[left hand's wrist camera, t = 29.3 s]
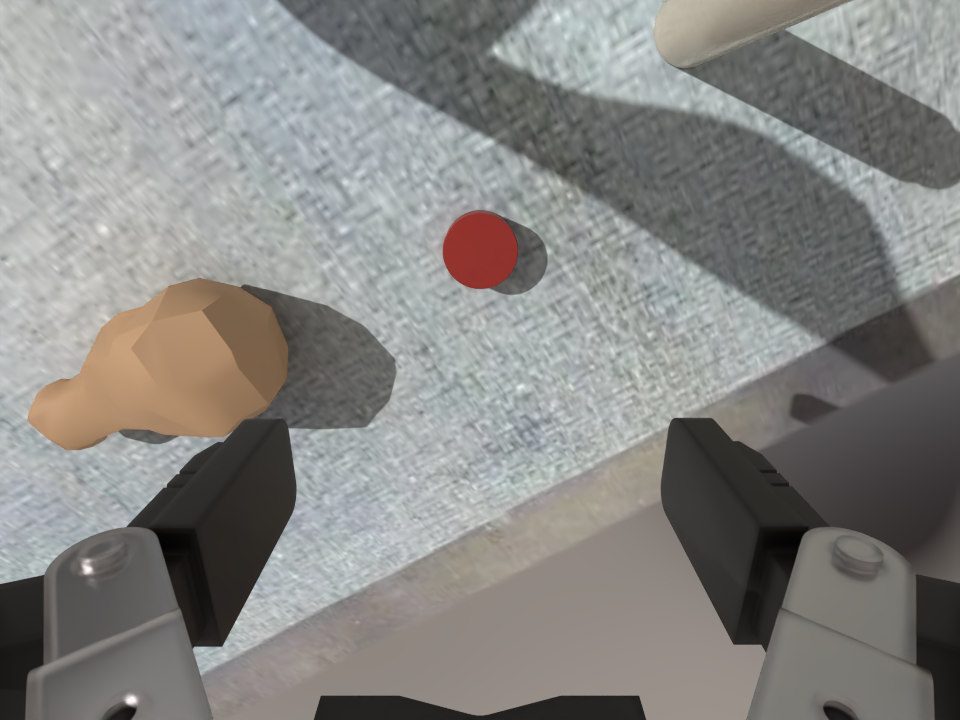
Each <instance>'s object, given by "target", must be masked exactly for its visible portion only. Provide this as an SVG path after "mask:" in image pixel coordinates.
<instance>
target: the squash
mask: <svg viewBox="0 0 960 720" xmlns="http://www.w3.org/2000/svg"><path fill="white" fill-rule="evenodd" d="M288 350H289V348H288V345H287V343H286V340H285V338H284V336H283V333H282V331H281V328H280V326H279V324H278V321H277V319H276V316H275V314H274V312H273V309H272V307H271V306H269V305H267V304H266V303H264V302H262V301H261V300H259V299H258V298H256V297H254V296H253V295H251V294H250V293H248V292H246V291H245V290H243V289H241V288H240V287H237V286H233V285H228V284H224V283H220V282H215V281H211V280H206V279H202V278H198V279H194V280H190V281H186V282H182V283H179V284H175V285H171V286H168V287H167V288H166V289H165V290H163V291H162V292H161V293H159V294H158V295H157V296H156V297H154V298H153V299H152V300H151V301H149V302H148V303H147V304H145V305H144V306H143V307H140V308H136V309H132V310H129V311H125V312H122V313H118V314H117V315H116V316H115V317H113V318H112V319H111V320H110V321H109V322H108V323H106V324H105V325H104V326H103V327H102V328H101V330H100V332H99V334H98V336H97V338H96V340H95V342H94V344H93V346H92V348H91V350H90V352H89V354H88V356H87V358H86V361H85V363H84V365H83V367H82V369H81V372H80V374H78V375H77V376H75V377H74V378H72V379H60V380H58V381H55V382H53V383H51V384H49V385H46V386H45V387H44V388H43V389H42V390H41V391H39V392H38V393H37V395H36V397H35V399H34V402H33V404H32V406H31V408H30V410H29V414H28V420H27V421H28V422H29V423H30V424H31V425H33V426H34V427H35V428H36V429H37V430H38V431H39V432H41V433H42V434H43V435H44V436H45V437H46V438H48V439H49V440H51V441H52V442H54V443H56V444H57V445H59V446H61V447H62V448H64V449H66V450H82V449H85V448H89V447H93V446H95V445H96V444H98V443H100V442H102V441H104V440H105V439H106V438H107V436H108V435H110V434H112V433H115V432H117V431H119V430H122V429H138V430H151V431H154V432H157V433H160V434H163V435H177V436H195V437H224V436H226V435H228V434H229V433H231V432H232V431H234V430H235V429H236V428H237V427H238V425H239V424H240V423H241V422H242V421H243V420H245V419H253V418H254V417H256V416H258V415H259V414H261V413H262V412H264V411H266V410H267V409H268V407H269V405H270V404H271V402H272V401H273V399H274V398H275V396H276V395H277V393H278V392H279V390H280V389H281V387H282V386H283V384H284V383H285V381H286V379H287V369H288Z"/></svg>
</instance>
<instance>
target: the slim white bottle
mask: <svg viewBox="0 0 960 720" xmlns="http://www.w3.org/2000/svg"><path fill="white" fill-rule="evenodd" d="M851 1H853V0H665V2H664V3H663V4H662V6H661V8H660V10H659V12H658V14H657V17H656V20H655V25H654V39H655V44H656V47H657V49H658V51H659V53H660V55H661V56H662V57H663V58H664V60H665V61H667V62H668V63H669V64H671V65H673V66H676V67H679V68H691V67H696V66H698V65H701V64H703V63H705V62H708V61H710V60H713V59H715V58H717V57H720V56H722V55H724V54H727V53H729V52H732V51H734V50H736V49H739V48H741V47H744V46H746V45H748V44H751V43H753V42H755V41H758V40H760V39H763V38H765V37H767V36H770V35H772V34H774V33H777V32H779V31H782V30H784V29H786V28H789V27H791V26H794V25H796V24H798V23H801V22H803V21H805V20H808V19H810V18H813V17H815V16H817V15H820V14H822V13H825V12H827V11H829V10H832V9H834V8H836V7H839V6H841V5H844V4H846V3H848V2H851Z"/></svg>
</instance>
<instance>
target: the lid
mask: <svg viewBox="0 0 960 720" xmlns="http://www.w3.org/2000/svg"><path fill="white" fill-rule="evenodd" d="M517 257H518V245H517V241H516V238H515V235H514V233H513V231H512V229H511V227H510V226H509V224H508V223H507V222H506V221H505V220H504V219H503V218H502V217H500V216H499V215H497V214H495V213H493V212H489V211H484V210H477V211H471V212H468V213H466V214H464V215H462V216H460V217H459V218H458V219H457V220H456V221H455V222H454V223H453V224H452V225H451V227H450V228H449V230H448V232H447V235H446V237H445V240H444V244H443V258H444V262H445V265H446V267H447V269H448V271H449V273H450V274H451V275H452V276H453V277H454V278H455V279H456V280H457V281H458V282H459V283H461V284H463V285H465V286H467V287H470V288H475V289H486V288H490V287H493V286H496V285H498V284H500V283H501V282H503V281H504V280H505V279H506V278H507V277H508V276H509V275H510V274H511V272H512V271H513V269H514V267H515V265H516V261H517Z"/></svg>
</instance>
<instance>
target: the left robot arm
mask: <svg viewBox="0 0 960 720" xmlns="http://www.w3.org/2000/svg"><path fill="white" fill-rule="evenodd" d="M661 498H662V504H663V508H664V511H665V513H666V516H667V517H668V519H669V521H670V523H671V525H672V527H673V529H674V531H675V533H676V535H677V536H678V539H679V541H680V542H681V544H682V546H683V548H684V550H685V552H686V554H687V556H688V558H689V560H690V562H691V564H692V566H693V567H694V569H695V571H696V573H697V575H698V577H699V579H700V581H701V583H702V585H703V587H704V589H705V590H706V592H707V594H708V596H709V598H710V600H711V602H712V604H713V606H714V608H715V610H716V612H717V614H718V615H719V617H720V619H721V621H722V623H723V625H724V627H725V629H726V631H727V633H728V635H729V637H730V639H731V640H732V642H733V644H734V645H737V644H738V645H751V644H752V645H753V644H754V645H759V644H760V645H762V646H763V648H764V650H765V652H766V656H765V659H764V662H763V666H762V669H761V672H760V676H759V679H758V682H757V686H756V689H755V692H754V696H753V699H752V702H751V706H750V709H749V712H748V716H747V719H746V720H960V583H955V582H951V581H946V580H941V579H936V578H931V577H926V576H922V575H917V574H915V572H914V570H913V568H912V567H911V565H910V564H909V563H908V562H907V561H906V560H905V559H904V558H903V557H902V556H901V555H900V554H899V553H898V552H896V551H895V550H893V549H892V548H890V547H889V546H887V545H886V544H884V543H882V542H880V541H878V540H876V539H874V538H872V537H870V536H867V535H864V534H862V533H859V532H855V531H852V530H848V529H843V528H835V527H830V526H829V525H828V524H827V523H826V522H825V521H824V520H823V518H822V517H820V515H819V514H818V513H817V512H816V511H815V510H814V509H813V508H812V507H811V506H810V505H809V504H808V503H807V502H806V501H805V500H804V498H803V497H802V496H801V495H800V494H799V493H798V492H797V491H796V490H795V489H794V488H793V487H791V486H789V483H788V482H787V481H786V479H785V478H784V477H783V476H782V475H781V474H780V473H777V470H776V469H775V468H774V467H773V466H772V465H771V464H770V463H769V462H768V460H767V459H766V458H765V457H764V456H763V455H762V454H760V453H758V452H757V451H755V450H753V449H751V448H750V447H748V446H746V445H745V444H743V443H741V442H739V441H732V440H731V438H730V437H729V436H728V435H727V434H726V433H725V432H724V431H723V429H722V428H721V427H720V426H719V425H718V424H717V423H716V422H715V420H713V419H712V418H674V419H673V420H672V421H671V423H670V426H669V430H668V437H667V444H666V451H665V458H664V465H663V472H662V479H661ZM295 501H296V479H295V472H294V465H293V458H292V451H291V444H290V437H289V430H288V426H287V423H286V422H285V420H284V419H245V420H243V421H242V422H241V423H240V424H239V425H238V427H237V428H236V429H235V430H234V431H233V432H232V433H231V434H230V435H229V437H228V438H227V439H226V440H225V441H224V442H217V443H215V444H214V445H212V446H210V447H208V448H207V449H205V450H203V451H202V452H200V453H198V454H196V455H195V456H194V457H193V458H192V459H191V460H190V461H189V462H188V463H187V464H186V465H185V466H184V467H183V468H182V469H181V470H180V474H176V475H175V477H174V478H173V479H172V480H171V481H170V482H169V483H168V484H167V488H163V489H162V490H161V491H160V492H159V493H158V494H157V495H156V496H155V497H154V499H153V500H152V501H151V502H150V503H149V504H148V505H147V506H146V507H145V508H144V509H143V510H142V511H141V512H140V513H139V514H138V515H137V516H136V517H135V518H134V519H133V520H132V522H131V523H130V524H129V525H128V526H127V527H124V528H117V529H112V530H108V531H105V532H101V533H98V534H96V535H93V536H90V537H88V538H86V539H84V540H82V541H80V542H78V543H76V544H74V545H73V546H71V547H70V548H68V549H67V550H65V551H64V552H62V553H61V554H60V555H59V556H58V557H57V558H56V559H55V560H54V561H53V562H52V563H51V564H50V565H49V567H48V568H47V570H46V572H45V575H42V576H37V577H33V578H28V579H23V580H18V581H13V582H8V583H4V584H0V720H214V719H213V716H212V712H211V709H210V706H209V702H208V699H207V696H206V692H205V689H204V686H203V682H202V679H201V676H200V672H199V669H198V666H197V662H196V659H195V656H194V652H193V648H194V647H222V646H223V644H224V642H225V640H226V638H227V636H228V635H229V633H230V631H231V629H232V627H233V625H234V623H235V621H236V619H237V618H238V616H239V614H240V612H241V610H242V608H243V606H244V604H245V602H246V600H247V599H248V597H249V595H250V593H251V591H252V589H253V587H254V585H255V583H256V581H257V580H258V578H259V576H260V574H261V572H262V570H263V568H264V566H265V564H266V562H267V561H268V559H269V557H270V555H271V553H272V551H273V549H274V547H275V545H276V543H277V542H278V540H279V538H280V536H281V534H282V532H283V530H284V528H285V526H286V524H287V523H288V521H289V519H290V517H291V515H292V513H293V510H294V506H295ZM314 720H646V718H645V714H644V711H643V708H642V704H641V701H640V697H639V696H558V697H554V698H551V699H547V700H543V701H539V702H535V703H531V704H528V705H524V706H520V707H516V708H512V709H509V710H505V711H501V712H497V713H493V714H490V715H484V716H476V715H471V714H467V713H463V712H459V711H455V710H452V709H448V708H444V707H440V706H436V705H432V704H429V703H425V702H421V701H417V700H413V699H410V698H406V697H402V696H321V697H320V701H319V704H318V708H317V711H316V714H315V718H314Z"/></svg>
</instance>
